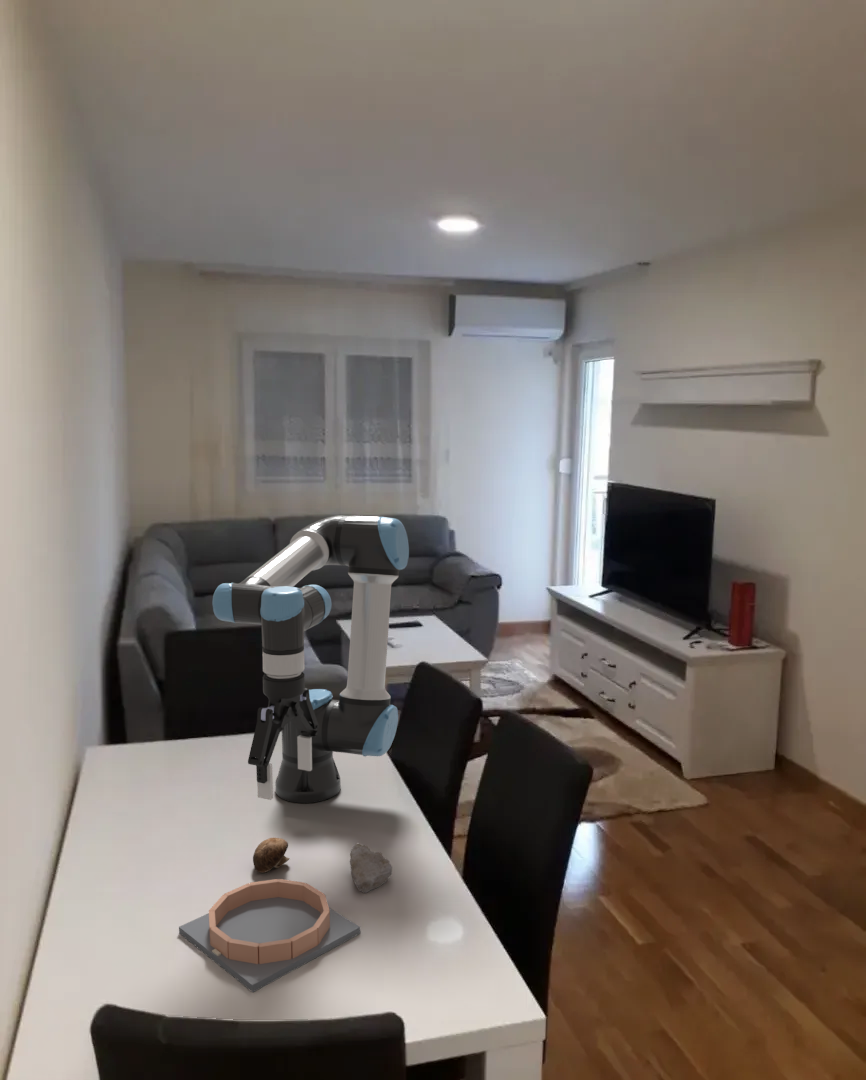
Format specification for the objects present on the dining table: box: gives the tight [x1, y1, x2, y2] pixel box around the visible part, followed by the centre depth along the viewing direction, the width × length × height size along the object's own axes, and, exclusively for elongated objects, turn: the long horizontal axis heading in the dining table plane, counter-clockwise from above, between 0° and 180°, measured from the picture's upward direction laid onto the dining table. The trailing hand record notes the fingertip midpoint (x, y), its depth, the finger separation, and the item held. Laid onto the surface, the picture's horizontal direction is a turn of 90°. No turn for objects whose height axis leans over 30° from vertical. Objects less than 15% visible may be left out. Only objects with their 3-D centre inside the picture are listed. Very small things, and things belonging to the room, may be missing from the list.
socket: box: [178, 878, 361, 993], centre depth 156 cm, size 22×22×4 cm
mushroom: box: [252, 837, 291, 874], centre depth 178 cm, size 8×8×6 cm
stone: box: [349, 843, 393, 894], centre depth 173 cm, size 10×8×6 cm
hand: (285, 783), depth 168 cm, fingers open, 13 cm apart
